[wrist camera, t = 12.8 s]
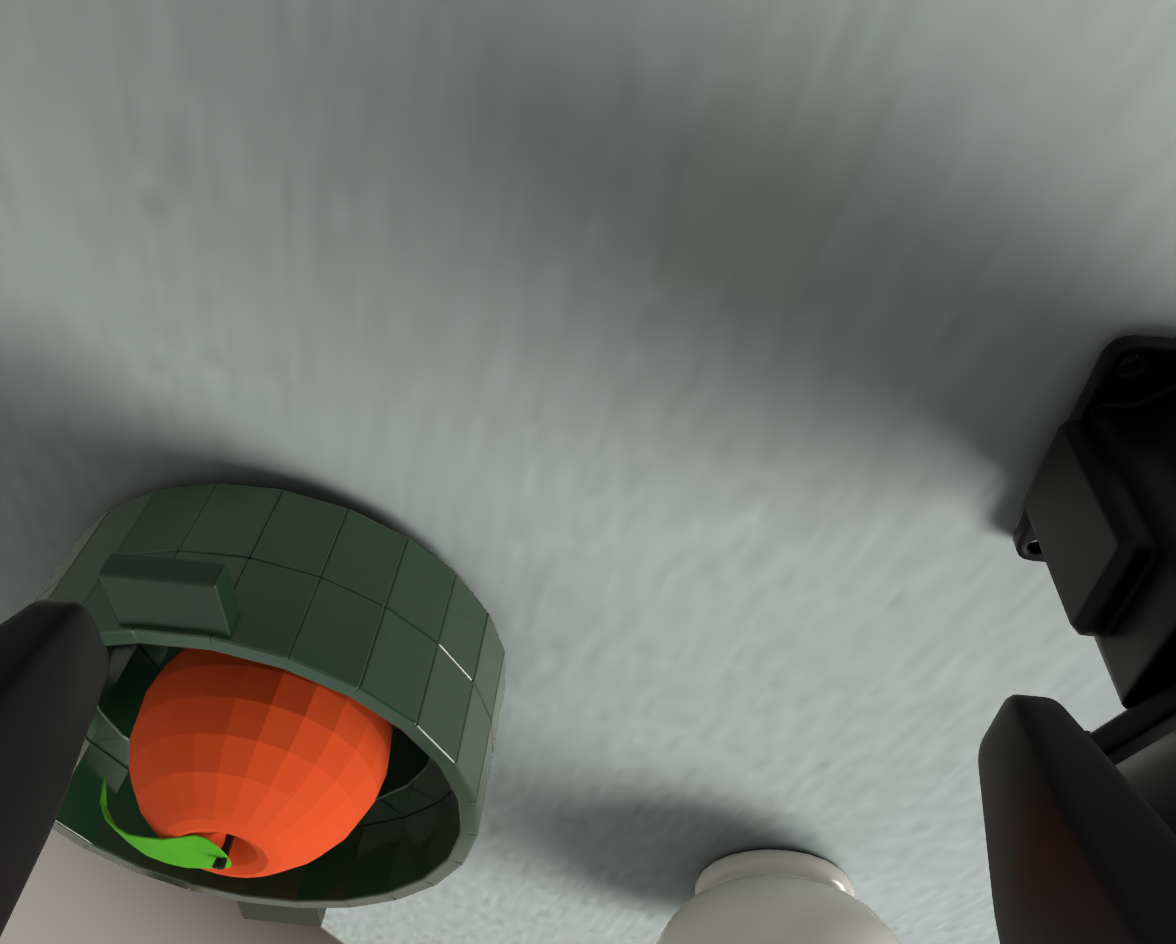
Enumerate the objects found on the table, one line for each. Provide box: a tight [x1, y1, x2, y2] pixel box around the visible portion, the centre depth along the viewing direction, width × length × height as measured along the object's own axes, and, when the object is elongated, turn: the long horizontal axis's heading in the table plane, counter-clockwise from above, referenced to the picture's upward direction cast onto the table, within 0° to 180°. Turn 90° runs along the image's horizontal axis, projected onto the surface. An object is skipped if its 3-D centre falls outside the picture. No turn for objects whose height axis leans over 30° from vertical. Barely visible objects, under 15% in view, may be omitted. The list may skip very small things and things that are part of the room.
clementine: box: [100, 648, 393, 878], centre depth 26 cm, size 8×7×7 cm
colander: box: [34, 483, 505, 908], centre depth 27 cm, size 13×13×6 cm
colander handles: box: [98, 553, 326, 927], centre depth 26 cm, size 3×17×1 cm, turn 177°
